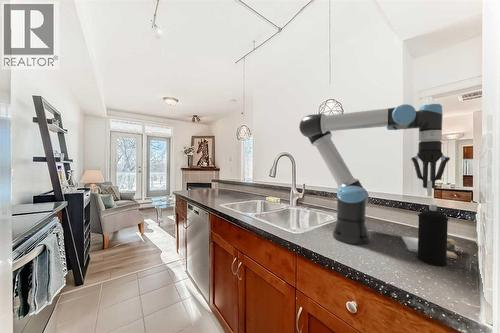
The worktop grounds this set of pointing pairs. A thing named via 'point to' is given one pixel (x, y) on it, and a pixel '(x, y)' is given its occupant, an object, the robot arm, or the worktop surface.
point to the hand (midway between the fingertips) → (428, 195)
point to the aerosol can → (432, 237)
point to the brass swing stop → (450, 241)
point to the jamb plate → (411, 243)
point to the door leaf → (451, 250)
